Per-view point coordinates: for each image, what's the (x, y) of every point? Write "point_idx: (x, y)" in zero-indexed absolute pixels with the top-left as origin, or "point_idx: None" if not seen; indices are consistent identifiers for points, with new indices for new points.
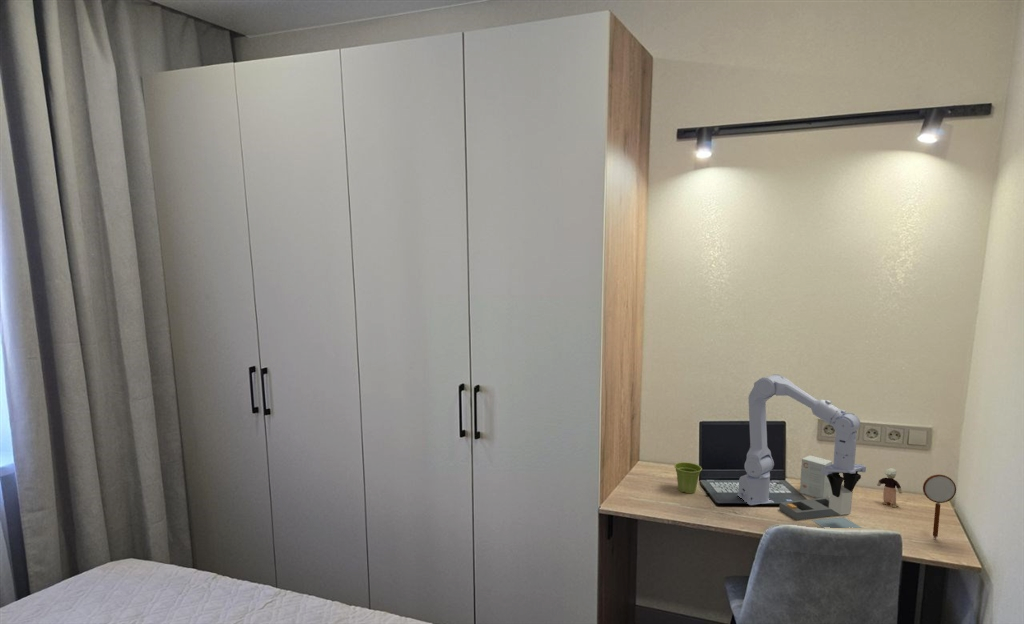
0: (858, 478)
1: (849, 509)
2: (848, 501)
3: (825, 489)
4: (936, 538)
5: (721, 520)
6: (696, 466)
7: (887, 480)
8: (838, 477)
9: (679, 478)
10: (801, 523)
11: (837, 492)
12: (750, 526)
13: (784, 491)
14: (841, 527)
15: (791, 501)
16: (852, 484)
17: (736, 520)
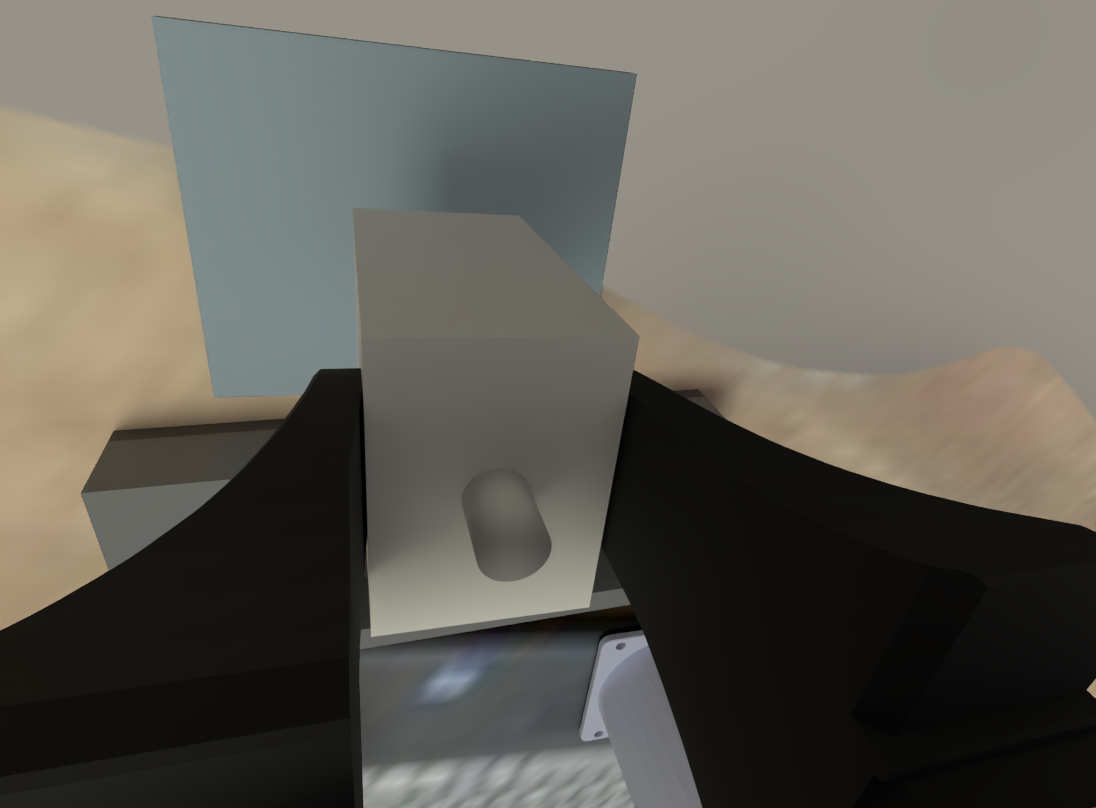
0: (99, 644)
1: (380, 227)
2: (432, 269)
3: None
4: None
5: (1062, 461)
6: None
7: None
8: (1092, 612)
9: None
10: (684, 362)
11: (675, 398)
12: (1016, 375)
13: (378, 781)
14: (428, 199)
15: (597, 605)
16: (346, 495)
17: (1001, 453)
